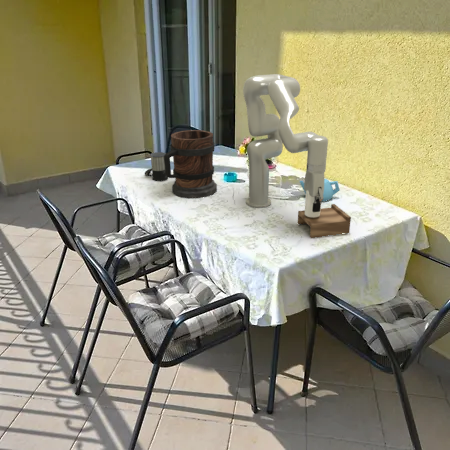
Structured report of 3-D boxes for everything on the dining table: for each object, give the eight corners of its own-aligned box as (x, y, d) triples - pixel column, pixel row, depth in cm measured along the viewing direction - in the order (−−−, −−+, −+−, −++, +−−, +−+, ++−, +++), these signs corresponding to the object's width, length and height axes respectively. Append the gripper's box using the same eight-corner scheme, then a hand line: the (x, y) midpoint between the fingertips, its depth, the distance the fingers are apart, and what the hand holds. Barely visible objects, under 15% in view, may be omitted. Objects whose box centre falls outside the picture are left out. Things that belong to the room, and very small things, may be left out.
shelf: (297, 223, 190) (298, 207, 187) (332, 219, 193) (334, 204, 190) (311, 238, 176) (312, 221, 173) (349, 233, 180) (350, 217, 177)
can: (309, 210, 185) (311, 184, 180) (322, 214, 181) (325, 187, 176) (301, 215, 181) (303, 188, 175) (315, 219, 177) (317, 192, 172)
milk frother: (165, 182, 243) (163, 156, 237) (138, 180, 246) (136, 155, 240) (172, 174, 256) (170, 150, 250) (147, 173, 259) (145, 149, 253)
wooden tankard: (225, 190, 230) (225, 134, 217) (183, 205, 211) (179, 145, 199) (196, 180, 245) (194, 127, 233) (154, 193, 227) (149, 137, 214)
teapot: (318, 205, 209) (320, 184, 204) (297, 196, 220) (298, 176, 216) (340, 198, 216) (342, 178, 212) (319, 190, 228) (320, 170, 223)
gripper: (299, 161, 179) (296, 201, 187) (316, 174, 164) (312, 217, 171) (315, 160, 181) (312, 200, 188) (334, 173, 165) (330, 215, 173)
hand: (312, 208), depth 180 cm, fingers closed on can, 6 cm apart
